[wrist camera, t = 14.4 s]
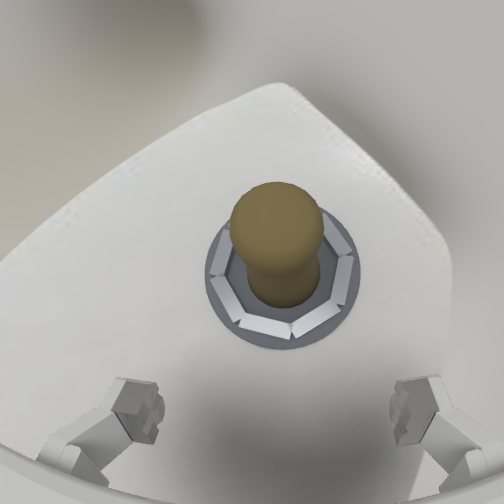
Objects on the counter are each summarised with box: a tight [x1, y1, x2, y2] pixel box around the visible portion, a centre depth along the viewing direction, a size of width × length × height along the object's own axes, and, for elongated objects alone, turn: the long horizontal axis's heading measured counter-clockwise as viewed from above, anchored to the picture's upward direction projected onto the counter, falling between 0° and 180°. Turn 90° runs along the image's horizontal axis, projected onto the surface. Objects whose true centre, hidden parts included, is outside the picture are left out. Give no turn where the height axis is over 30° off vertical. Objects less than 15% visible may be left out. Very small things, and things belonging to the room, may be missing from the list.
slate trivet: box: [205, 207, 360, 349], centre depth 27 cm, size 13×13×2 cm
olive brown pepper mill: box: [230, 182, 324, 309], centre depth 21 cm, size 6×6×11 cm
